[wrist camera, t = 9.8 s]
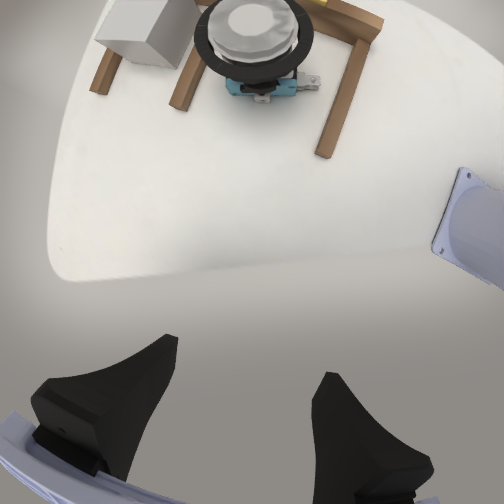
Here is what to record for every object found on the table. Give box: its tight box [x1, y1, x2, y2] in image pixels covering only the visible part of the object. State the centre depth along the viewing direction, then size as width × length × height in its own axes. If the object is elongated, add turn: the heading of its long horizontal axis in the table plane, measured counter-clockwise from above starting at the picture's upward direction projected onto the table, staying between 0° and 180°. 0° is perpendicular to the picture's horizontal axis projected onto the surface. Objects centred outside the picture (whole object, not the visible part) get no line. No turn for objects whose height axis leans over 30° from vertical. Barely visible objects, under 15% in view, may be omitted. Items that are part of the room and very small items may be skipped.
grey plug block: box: [94, 0, 202, 69], centre depth 14 cm, size 4×6×6 cm
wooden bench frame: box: [89, 0, 384, 159], centre depth 15 cm, size 20×11×5 cm, turn 70°
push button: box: [194, 0, 320, 103], centre depth 13 cm, size 7×5×10 cm
